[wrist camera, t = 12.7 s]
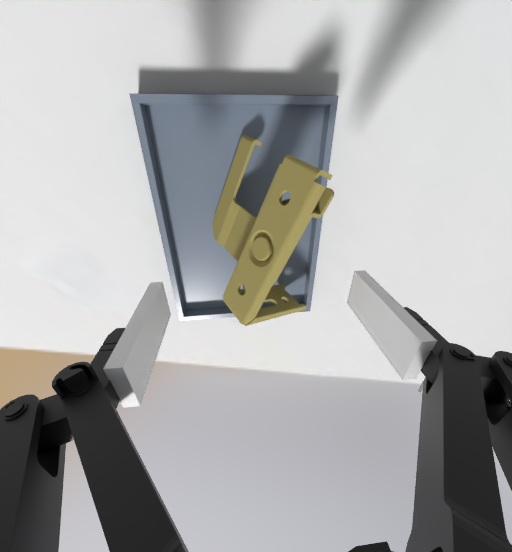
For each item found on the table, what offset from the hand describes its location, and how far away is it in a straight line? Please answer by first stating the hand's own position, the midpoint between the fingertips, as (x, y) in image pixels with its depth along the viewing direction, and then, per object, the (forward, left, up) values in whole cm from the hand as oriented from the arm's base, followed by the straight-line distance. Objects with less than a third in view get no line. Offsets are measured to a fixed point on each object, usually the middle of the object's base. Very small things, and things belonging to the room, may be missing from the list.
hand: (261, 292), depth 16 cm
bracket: (-1, +4, -10) cm, 11 cm away
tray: (-1, -1, -13) cm, 13 cm away
